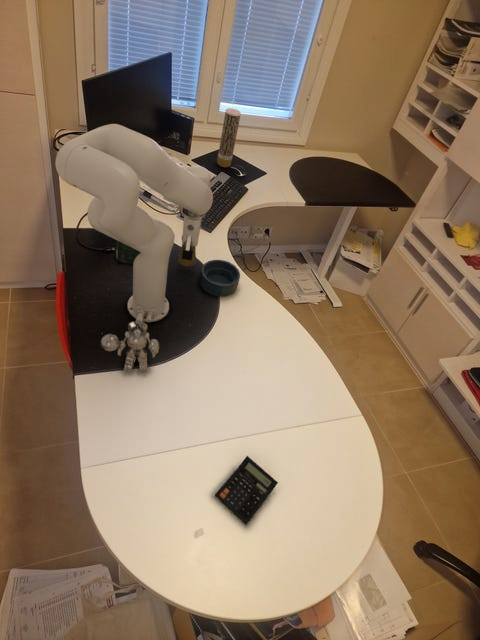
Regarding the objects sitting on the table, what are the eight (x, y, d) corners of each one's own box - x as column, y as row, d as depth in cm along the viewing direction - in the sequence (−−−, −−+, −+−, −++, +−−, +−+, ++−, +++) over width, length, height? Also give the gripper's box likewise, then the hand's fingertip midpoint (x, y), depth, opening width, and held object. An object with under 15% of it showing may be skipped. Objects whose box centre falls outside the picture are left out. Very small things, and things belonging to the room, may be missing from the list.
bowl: (236, 300, 138) (239, 288, 134) (197, 294, 136) (199, 282, 132) (237, 275, 147) (240, 263, 143) (201, 268, 145) (203, 256, 141)
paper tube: (214, 161, 200) (223, 108, 182) (227, 161, 203) (237, 108, 185) (219, 168, 196) (229, 114, 178) (232, 168, 199) (243, 115, 181)
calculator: (214, 495, 93) (216, 490, 91) (245, 459, 101) (248, 454, 99) (246, 525, 91) (249, 520, 88) (275, 486, 98) (279, 481, 96)
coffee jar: (146, 252, 145) (148, 206, 132) (143, 266, 140) (145, 221, 126) (118, 248, 143) (117, 202, 130) (114, 263, 138) (112, 216, 125)
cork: (187, 252, 143) (190, 226, 134) (199, 261, 141) (203, 235, 133) (174, 259, 139) (176, 232, 131) (187, 268, 137) (190, 242, 129)
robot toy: (100, 372, 109) (97, 336, 98) (103, 353, 113) (101, 317, 102) (157, 373, 112) (160, 339, 101) (158, 355, 116) (161, 320, 105)
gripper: (203, 226, 119) (196, 273, 133) (208, 195, 131) (201, 241, 144) (177, 221, 118) (173, 269, 132) (184, 191, 130) (179, 237, 143)
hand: (187, 254), depth 138 cm, fingers closed on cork, 4 cm apart
